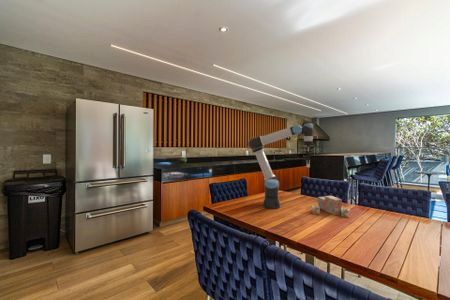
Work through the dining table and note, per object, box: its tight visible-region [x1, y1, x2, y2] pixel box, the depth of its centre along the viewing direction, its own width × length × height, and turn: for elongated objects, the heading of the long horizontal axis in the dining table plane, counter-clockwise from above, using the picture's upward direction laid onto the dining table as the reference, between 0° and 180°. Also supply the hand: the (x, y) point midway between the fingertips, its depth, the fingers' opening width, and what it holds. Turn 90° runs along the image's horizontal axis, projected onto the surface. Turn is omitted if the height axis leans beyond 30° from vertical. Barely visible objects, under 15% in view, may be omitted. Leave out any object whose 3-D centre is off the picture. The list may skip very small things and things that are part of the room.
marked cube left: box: [311, 205, 321, 215], centre depth 173 cm, size 5×5×5 cm
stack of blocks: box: [317, 195, 343, 216], centre depth 177 cm, size 21×6×12 cm, turn 11°
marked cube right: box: [340, 207, 350, 218], centre depth 165 cm, size 5×5×5 cm
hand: (308, 167), depth 193 cm, fingers closed
